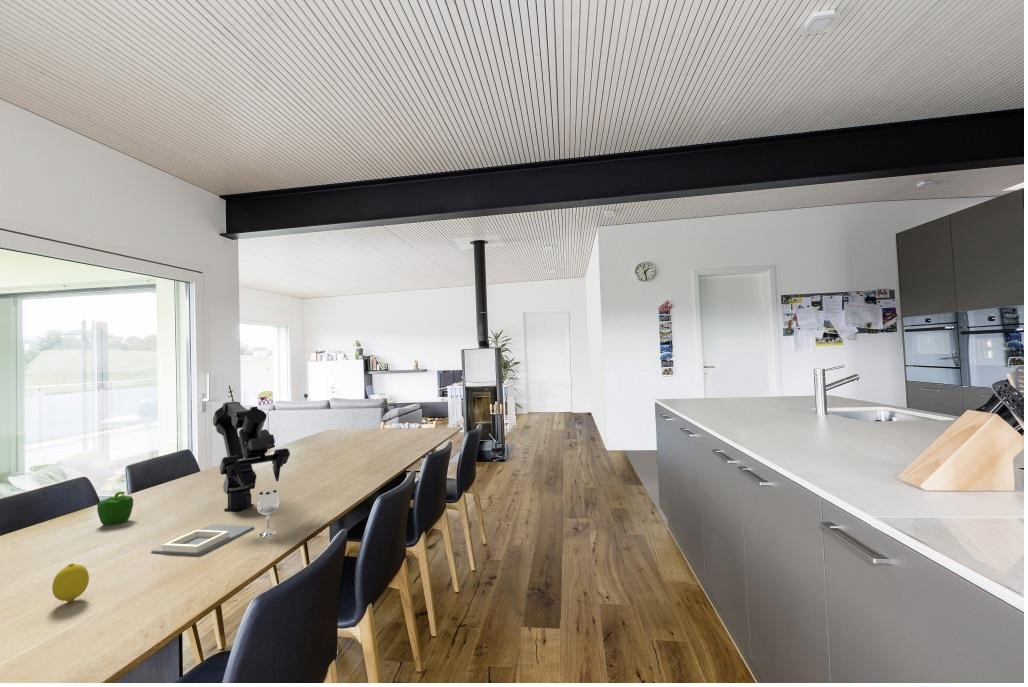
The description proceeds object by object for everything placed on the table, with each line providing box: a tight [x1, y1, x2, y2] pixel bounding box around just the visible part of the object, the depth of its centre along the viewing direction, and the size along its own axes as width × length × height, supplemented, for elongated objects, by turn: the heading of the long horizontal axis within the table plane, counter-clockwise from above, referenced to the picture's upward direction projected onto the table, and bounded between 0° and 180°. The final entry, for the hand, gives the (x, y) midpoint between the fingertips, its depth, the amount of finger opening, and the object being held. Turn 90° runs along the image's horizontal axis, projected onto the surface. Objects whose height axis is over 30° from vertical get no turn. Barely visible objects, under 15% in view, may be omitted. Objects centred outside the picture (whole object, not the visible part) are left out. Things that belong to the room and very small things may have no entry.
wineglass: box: [256, 489, 280, 538], centre depth 131 cm, size 6×6×12 cm
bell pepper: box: [96, 490, 134, 526], centre depth 143 cm, size 8×8×10 cm
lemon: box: [51, 562, 90, 603], centre depth 95 cm, size 6×6×8 cm
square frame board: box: [151, 524, 255, 557], centre depth 127 cm, size 15×19×2 cm
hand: (261, 483), depth 137 cm, fingers open, 9 cm apart
